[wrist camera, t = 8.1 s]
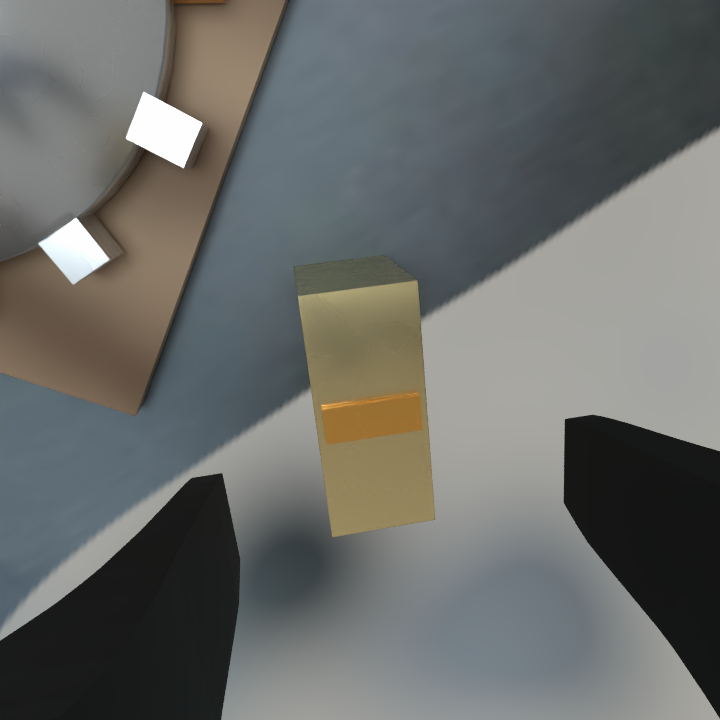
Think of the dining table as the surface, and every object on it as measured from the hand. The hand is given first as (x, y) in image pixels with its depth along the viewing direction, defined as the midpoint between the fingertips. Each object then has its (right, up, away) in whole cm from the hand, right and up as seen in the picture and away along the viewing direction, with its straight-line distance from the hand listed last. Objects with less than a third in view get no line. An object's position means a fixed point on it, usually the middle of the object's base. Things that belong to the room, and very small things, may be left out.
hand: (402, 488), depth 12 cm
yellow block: (-1, +3, +8) cm, 9 cm away
